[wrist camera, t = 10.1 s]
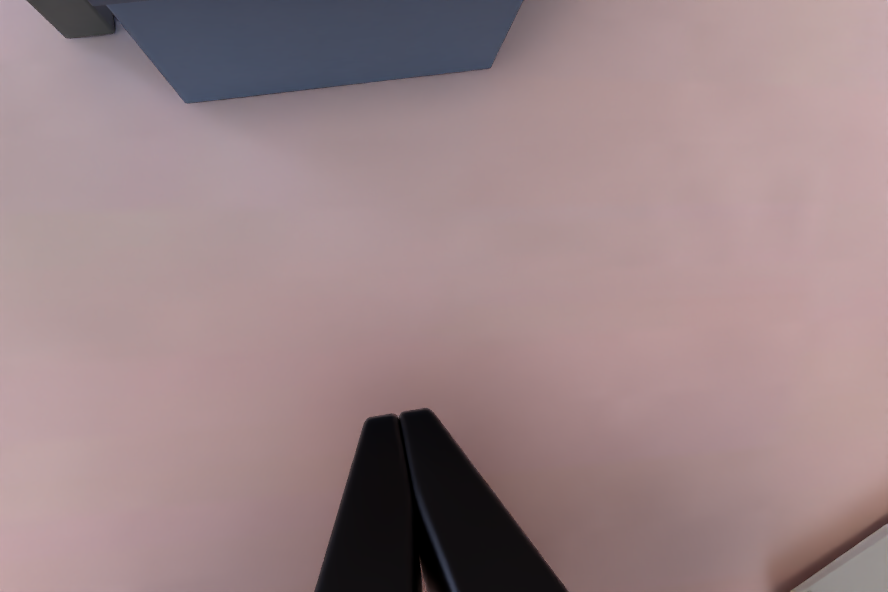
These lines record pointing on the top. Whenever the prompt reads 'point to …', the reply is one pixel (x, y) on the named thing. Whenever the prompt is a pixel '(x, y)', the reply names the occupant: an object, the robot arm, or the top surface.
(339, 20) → the storage box
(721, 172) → the top surface
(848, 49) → the top surface
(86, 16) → the drawer unit
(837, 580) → the laptop
